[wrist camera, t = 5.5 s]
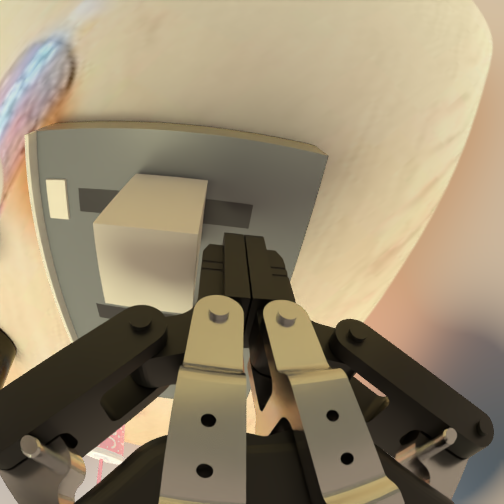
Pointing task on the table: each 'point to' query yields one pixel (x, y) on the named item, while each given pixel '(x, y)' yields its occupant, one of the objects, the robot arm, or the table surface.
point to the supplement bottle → (5, 357)
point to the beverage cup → (109, 450)
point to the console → (164, 164)
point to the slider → (151, 242)
